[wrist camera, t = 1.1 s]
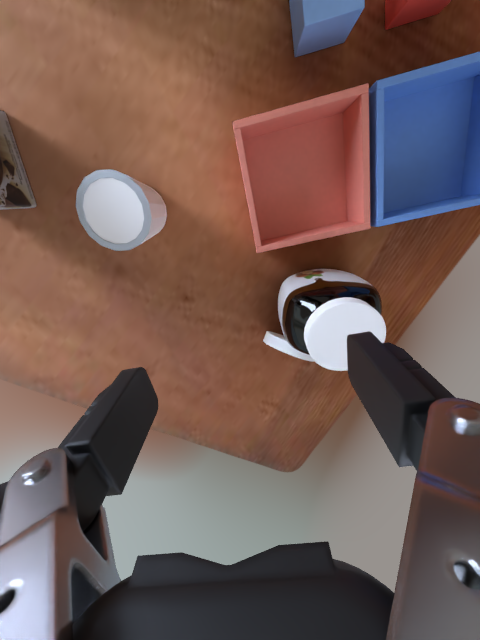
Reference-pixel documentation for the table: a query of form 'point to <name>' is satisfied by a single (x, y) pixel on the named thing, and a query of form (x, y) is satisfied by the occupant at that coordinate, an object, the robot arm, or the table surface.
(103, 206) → the shot glass
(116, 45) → the table surface
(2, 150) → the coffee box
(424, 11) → the red block
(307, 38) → the blue block
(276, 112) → the red bin
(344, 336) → the spread jar
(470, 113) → the blue bin
